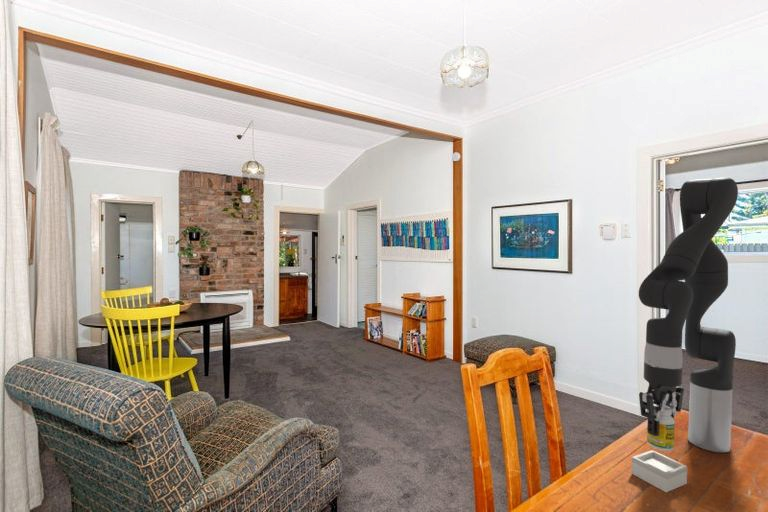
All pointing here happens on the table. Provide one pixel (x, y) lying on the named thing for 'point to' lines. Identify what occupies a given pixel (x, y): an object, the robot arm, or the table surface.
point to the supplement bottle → (663, 431)
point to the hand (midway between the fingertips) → (660, 431)
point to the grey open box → (659, 470)
